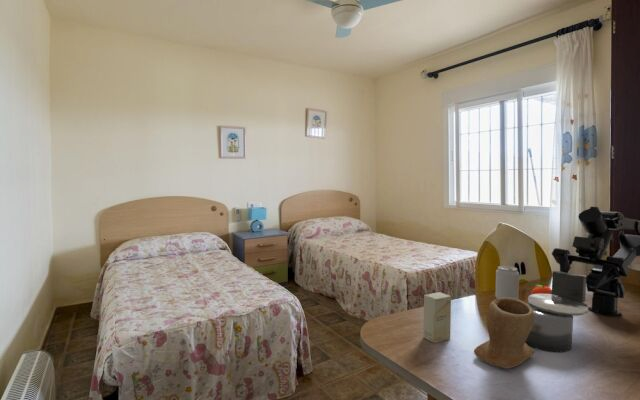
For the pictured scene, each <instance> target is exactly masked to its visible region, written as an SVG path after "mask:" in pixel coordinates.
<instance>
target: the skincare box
mask: <svg viewBox="0 0 640 400" xmlns="http://www.w3.org/2000/svg"><path fill="white" fill-rule="evenodd" d="M451 309H452V296H451V295H449V294H447V293H444V292H441V291H436V292H431V293H428V294H424V295H423V338H424V339H426V340H428V341H430V342H431V343H434V344H436V343H440V342H444V341H447V340H451V326H452V325H451V319H452V317H451V314H452V313H451V312H452V310H451Z"/></svg>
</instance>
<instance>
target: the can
mask: <svg viewBox="0 0 640 400" xmlns="http://www.w3.org/2000/svg"><path fill="white" fill-rule="evenodd" d="M519 286H520V272H519V270H518V268H517V267H515V266H510V265H509V266H508V265H500V266H497V269H496V270H495V294H494V295H495V296H494V297H495V299H497V298H500V297H509V298H514V299H518V300H519V292H520V291H519V289H520V287H519Z"/></svg>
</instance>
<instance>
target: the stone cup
mask: <svg viewBox="0 0 640 400" xmlns="http://www.w3.org/2000/svg"><path fill="white" fill-rule="evenodd" d="M533 322H534V312H533V309H532V308H531V307H530V306H529V305H528V303H526V302H525V301H522V300H520V299H519V298H518V299H514V298H509V297H500V298H495V299H493V300H492V301H491V302H490V303H489V306H488V310H487V315H486V327H487V331H488V337H489V340H487V341H485V342H483V343H481V344H479V345H477V346H476V347H475V348H474V349H473V354H474V355H475V356H476V357H477V358H478V359H480V360H481V361H483V362H485V363H486V364H489V365H491V366H494V367H496V368H500V369H511V368H514V367H517V366H519V365H521V364H522V363H524V362H525V361H526V360H528V359H529V358H531V357H532V356H533V355H534V354H535V351H534V348H532V347H529V346H528V345H527V344H526V343H525V342H526V339H527V337H528V335H529V333H530V331H531V329H532V327H533Z"/></svg>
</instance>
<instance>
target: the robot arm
mask: <svg viewBox="0 0 640 400" xmlns="http://www.w3.org/2000/svg"><path fill="white" fill-rule="evenodd" d="M578 219H579V221H580V223H581V225H582V228H583V230H584V231H585V232H586V233H588V234H587V236H586V237H583V236H578V235H576V236H574V238H573V242H572V245H571V246H572V247H573V248H575V252H576V254H572V253H570V251H569V249H566V248H559V247H557V248H555V247H554V249H553V250H552V251H551V256H552V257H553V259H554V260H555V262H556V263H557V264H559V271H560V272H565V273H569V271H571V270H570V269H572V266H571V265H572V263H573V262H575V263H583V264H587V265H591V266H593V267H592V268H591V269H590V270H589V271H590V272H588V273H587V274H586V276H585V277H586V292H589V293H592V298H591V306H590V307H589V306H588V311H591V312H594V313H598V314H600V315H603V316H605V317H609V316H611V317H612V316H621V315H623V312H620V311H618V300H619V299H624V298H625V294H626V289H625V286H624V284H623V282H622V280H621V277H624V278H625V277H627V276H628V274H629V271H630V268H629V266H630V265H631V264H632V263H633V262H634V260H635V259H636V258H638V257H640V220H639V219H633V218H628V217H625V215H624V214H623V213H622V212H620V211H607V210H600V209H599V207H598V206H590V207H589V208H588V209H584V210H582V211H581V212H580V213H579V214H578ZM612 230H613V231H619V234H618V236H617V239H618V242H619V245H620V247H619V249H618V250H617V252H615V253H614V255H611V256H608V252H607V249H608V247H609V245H610V242H613V241H614V238H613V235H614V234H613V231H612ZM620 230H621V231H620ZM624 231H627V232H636V234H638V235H636V234H628V233H627V234H626V233H625V232H624ZM604 256H607V257H606V258H605V259H603V258H604Z"/></svg>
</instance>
